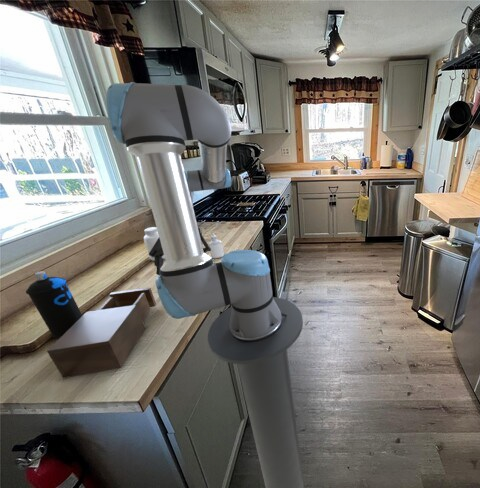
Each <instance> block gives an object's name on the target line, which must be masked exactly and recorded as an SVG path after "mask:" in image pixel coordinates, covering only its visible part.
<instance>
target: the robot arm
mask: <svg viewBox="0 0 480 488" xmlns="http://www.w3.org/2000/svg"><path fill="white" fill-rule="evenodd" d="M105 102H106V103H105V104H106V112H107V117H108V123H109V125H110V127H111V131H112V132H111V133H112V134H113V137H114V138H115V140H116V142H118V143H121V144H123V145H125V146H126V150H127V152H128V153H130V154H132V155H133V156H135V157H136V158H137V161H138V163H139V167H140V171H141V174H142V179H143V182H144V185H145V189H146V193H147V197H148V201H149V204H150V207H151V212H152V215H153V219H154V222H155V227H157V230H158V234H159V238H158V240H157V241H156V243H155V245H154V246H153V248H152V249H151V251H150V252H149V254H148V256H149V255H150V256H151V257H153V258H155V261H153V262H154V263H153V265H154V267H156V275H157V277H156V278H155V286H156V289H157V295H158V298H159V301H160V302H161V304H162V306H163V308H164V310H165V312H166V314H168V315H169V316H170V317H171V318H173V319H175V320H176V319H177V320H180V319H184V318H188V317H194V316H195V317H196V315H200V314H203V313H207V312H210V311H214V310H216V309H220V308H223V307H226V306H229V305H230V306H231V307H232V312H231V317H230V332H231V334H232V336H233V337H234V338H235V339H237V340H239V341H242V342H257V341H261V340H264V339H266V338H268V337H270V336H272V335H273V334H274V333H276V332H277V331H278V329H279V328H280V326H281V324H282V316H284V317H287V315H286V314H284V313H281V311H280V309H279V308H278V306H277V304H276V302H275V301H274V299H273V297H274V295H273V286H272V279H271V273H270V272H271V268H270V265H269V260H268V258H267V256H266V255H265V254H264V253H262V252H260V251H257V250H254V249H236V250H231V251H228V252H227V253H224V256H223V257H221V260H220V262H214V261H213V258H212V257H211V255H209V254H207V253H208V252H210V251H211V248H210V247H209V243H208V242H207V240H206V238H205V237H204V236H203V231H202V229H201V228H200V227H198V222H197V218H196V214H195V213H196V212H195V210H194V195H195V194H194V193H195V192H202V191H211V190H212V191H213V190H220V189H221V190H223V189H227V188H231V186H232V177H231V171H230V170H229V169H228V168H227V167H226V166H227V165H226V164H227V150H228V149H227V148H228V144H229V143H230V141H231V138H232V125H231V120H230V118H229V115H228V114H227V112H226V111H225V109H224V107H223V106H222V105H221V104H220V102H219V101H217V100H216V99H215V97H213V96H212V95H211V94H210V93H208V92H206V91H205V90H202V89H201V88H199V87H197V86H195V85H193V86H192V85H189V84H165V83H163V84H162V83H141V82H139V83H137V82H135V81H131V82H123V83H121V82H120V83H119V82H117V83H116V82H115V83H112V84H110V85H109V86H108V88H107V90H106V95H105ZM185 141H197V142H198V147H199V155H200V162H201V167H202V169H195V170H186V169H185V168H184V164H183V159H182V155H183V153H184V152H185V151H186V149H187V146H186V142H185ZM203 246H204V247H203ZM163 255H164V256H165V259H163V258H162V256H163Z"/></svg>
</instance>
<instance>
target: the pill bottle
mask: <svg viewBox="0 0 480 488" xmlns="http://www.w3.org/2000/svg"><path fill="white" fill-rule="evenodd" d="M143 231H144V234H145V235H144V236H143V242H144V246H145V248H146V251H147V254H148V258H149V259H150V261H152V262H154V261H155V258H153V257H151V256H150V255H149V252H150V251H151V249H152V248H153V246H154V245H155V243H156V241H157V240H158V238H159V234H158V230H157V227H156V226H152V227H151V226H150V227H147V228H145V229H144V230H143ZM162 258H163V260H165V256H164V255H163V256H162Z"/></svg>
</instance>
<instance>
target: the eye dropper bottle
mask: <svg viewBox="0 0 480 488" xmlns="http://www.w3.org/2000/svg"><path fill="white" fill-rule="evenodd" d="M210 239H211V240H210V241H209V242H208V245H209V247H210V248H211V251H209V252H210V256H211V257H212V259H220V258H222V257H223V256H224V255H225V253H224V248H223V244H222V240H220V239H218V238H217V235H215V233H214V232H213V233H211V236H210Z"/></svg>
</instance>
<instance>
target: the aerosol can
mask: <svg viewBox="0 0 480 488" xmlns="http://www.w3.org/2000/svg"><path fill="white" fill-rule="evenodd" d="M34 276H35V278H36V280H35V281H34V282H32V283H31V284H29V286H28V288H27V289H26V290H25V294H27V295H28V296H29V298H30V300H31V302H32V303H33V305H34V306H35V309H36V310H37V311H38V313H39V315H40V317H41V319H42V320H43V322H44V323H45V325H46V327H47V328H48V330H49V332H50V335H51V336H50V337H51V338H53V339H60V338H61V337H62V336H63V335H64V334H65V333H66V332H67V331H68V330H69V329H70V328H71V327H72V326H73V325H74V324H75V323H76V322H77V321H78V320H79V319H80V318H81V317H82V316H83V314H82V312H81V309H80V308H79V306H78V304H77V302H76V300H75V298H74V296H73V294H72V292H71V290H70V288H69V286H68V284H67V279H66V278H63V277H60V276H48V275H47V274H46V272H45V271H44V270H42V271H41V270H40V271H37V272H35V273H34Z"/></svg>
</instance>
